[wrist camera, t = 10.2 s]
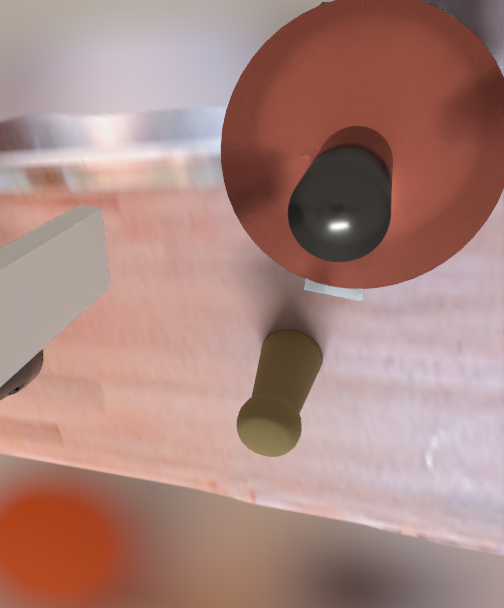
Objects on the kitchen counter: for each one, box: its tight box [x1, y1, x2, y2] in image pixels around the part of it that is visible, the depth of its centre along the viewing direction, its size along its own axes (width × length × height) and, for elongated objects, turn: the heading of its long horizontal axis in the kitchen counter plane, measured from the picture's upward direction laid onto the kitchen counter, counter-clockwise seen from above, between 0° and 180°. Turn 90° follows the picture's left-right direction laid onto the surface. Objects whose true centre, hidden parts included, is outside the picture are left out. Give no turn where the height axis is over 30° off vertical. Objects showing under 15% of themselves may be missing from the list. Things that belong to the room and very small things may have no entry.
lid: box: [221, 0, 504, 289], centre depth 22 cm, size 15×15×11 cm
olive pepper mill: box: [237, 330, 322, 457], centre depth 39 cm, size 6×6×11 cm
